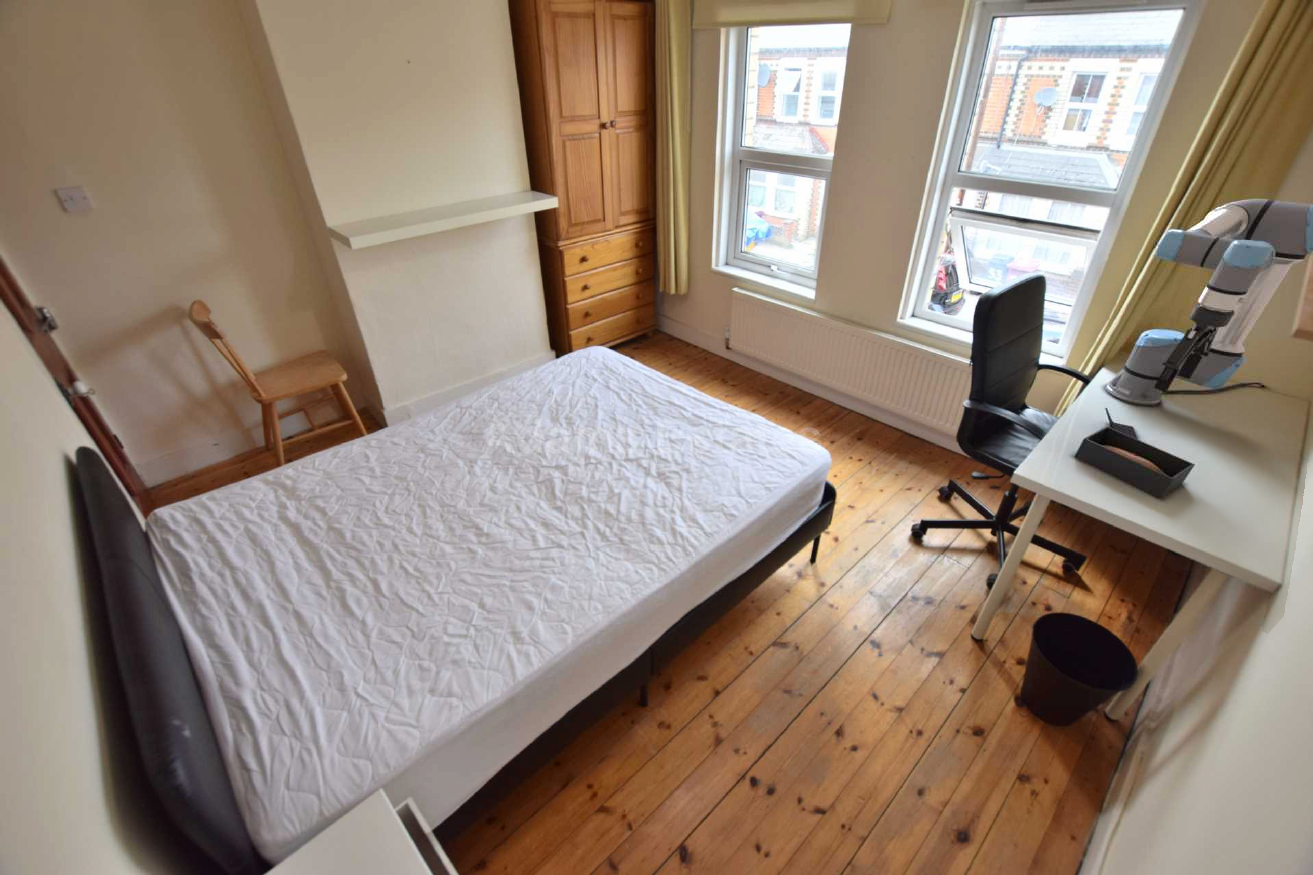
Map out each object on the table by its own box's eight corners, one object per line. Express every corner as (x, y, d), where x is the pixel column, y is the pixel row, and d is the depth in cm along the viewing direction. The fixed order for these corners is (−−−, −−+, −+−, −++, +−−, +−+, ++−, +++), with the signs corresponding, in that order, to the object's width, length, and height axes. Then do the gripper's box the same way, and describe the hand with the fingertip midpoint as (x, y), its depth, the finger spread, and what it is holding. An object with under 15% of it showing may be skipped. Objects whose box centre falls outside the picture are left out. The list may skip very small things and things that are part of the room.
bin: (1097, 444, 173) (1107, 426, 170) (1182, 483, 158) (1195, 464, 154) (1074, 457, 168) (1083, 438, 164) (1160, 499, 152) (1173, 479, 148)
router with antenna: (1148, 442, 172) (1135, 414, 170) (1120, 452, 175) (1107, 424, 173) (1132, 427, 182) (1120, 401, 180) (1106, 437, 185) (1094, 411, 183)
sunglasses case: (1169, 474, 160) (1176, 461, 155) (1155, 492, 158) (1161, 480, 154) (1097, 444, 171) (1101, 432, 166) (1083, 461, 170) (1087, 449, 165)
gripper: (1212, 322, 133) (1166, 401, 145) (1255, 302, 144) (1209, 377, 156) (1175, 312, 138) (1133, 389, 150) (1219, 293, 149) (1177, 366, 161)
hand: (1171, 383), depth 153 cm, fingers open, 13 cm apart
